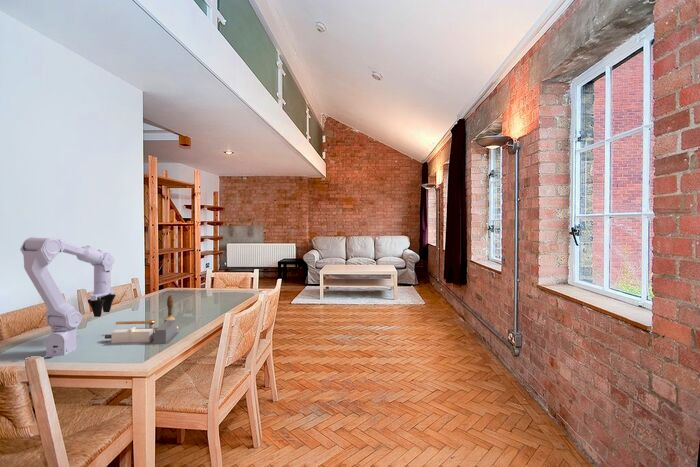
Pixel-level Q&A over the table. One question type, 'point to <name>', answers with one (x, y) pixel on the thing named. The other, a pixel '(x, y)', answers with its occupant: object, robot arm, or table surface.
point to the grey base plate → (157, 334)
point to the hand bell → (170, 309)
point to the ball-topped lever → (137, 322)
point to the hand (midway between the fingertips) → (102, 314)
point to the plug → (130, 335)
